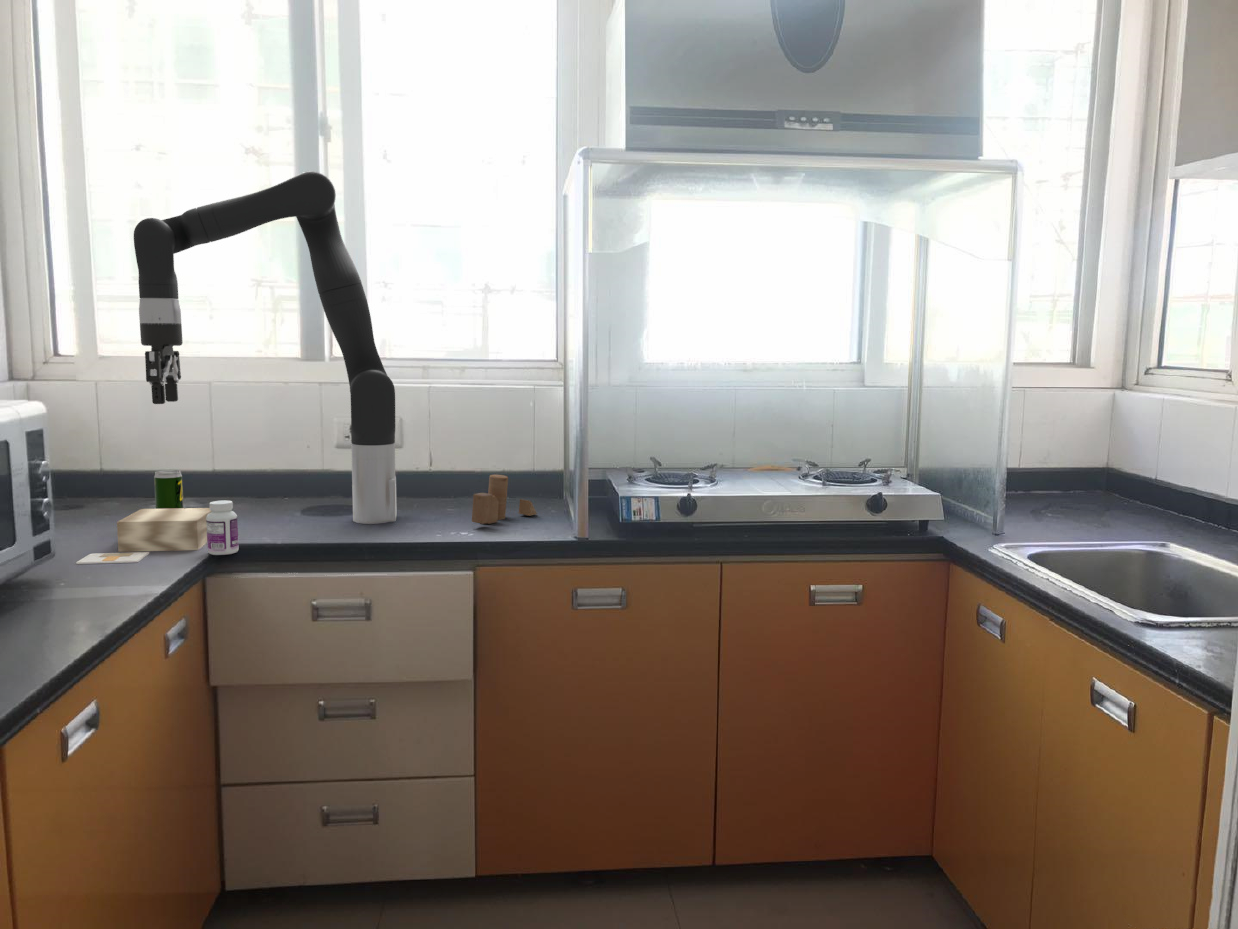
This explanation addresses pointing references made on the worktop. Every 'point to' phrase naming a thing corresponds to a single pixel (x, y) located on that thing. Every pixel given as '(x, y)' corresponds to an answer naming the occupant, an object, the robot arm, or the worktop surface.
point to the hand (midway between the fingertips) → (165, 402)
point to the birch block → (163, 530)
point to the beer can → (168, 489)
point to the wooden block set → (496, 502)
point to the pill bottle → (222, 528)
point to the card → (113, 558)
